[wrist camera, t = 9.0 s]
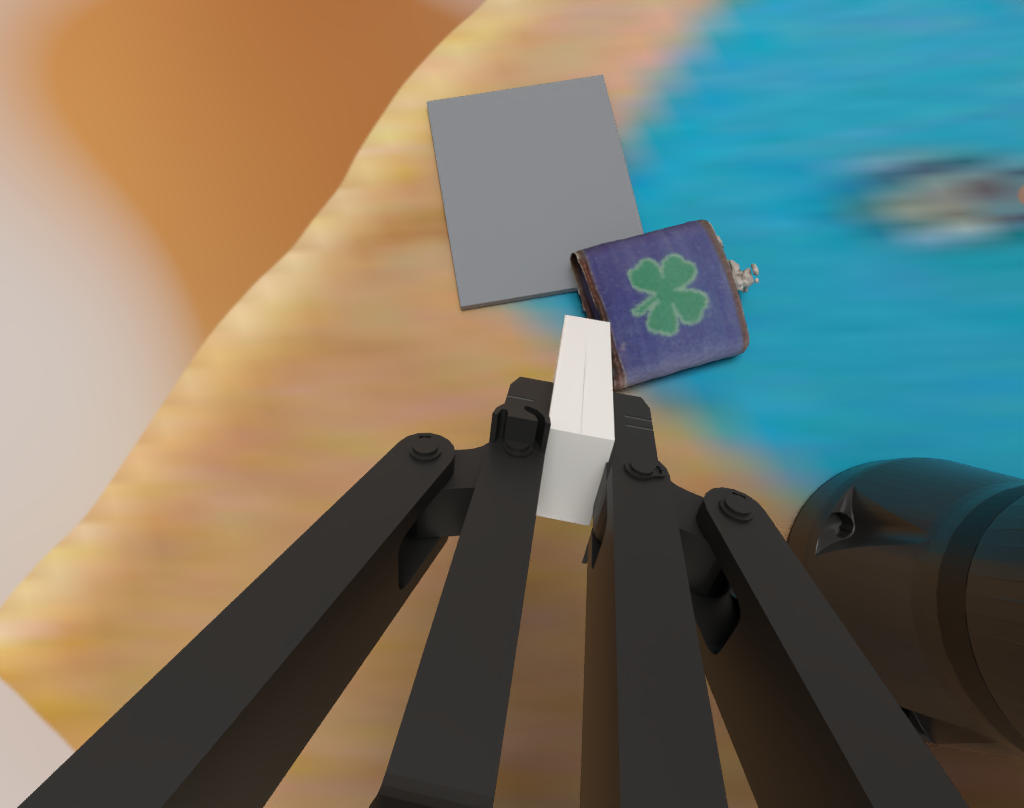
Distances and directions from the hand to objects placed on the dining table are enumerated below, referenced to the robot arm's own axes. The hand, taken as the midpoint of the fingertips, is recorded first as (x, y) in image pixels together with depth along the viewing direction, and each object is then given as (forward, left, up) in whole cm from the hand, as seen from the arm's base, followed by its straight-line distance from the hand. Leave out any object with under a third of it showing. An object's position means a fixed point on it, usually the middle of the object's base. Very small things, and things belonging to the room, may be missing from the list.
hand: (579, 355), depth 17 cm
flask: (+6, -3, -13) cm, 14 cm away
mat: (+17, -2, -14) cm, 22 cm away
